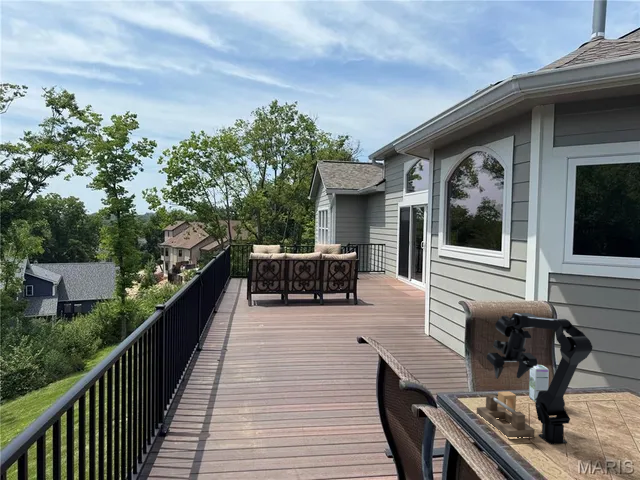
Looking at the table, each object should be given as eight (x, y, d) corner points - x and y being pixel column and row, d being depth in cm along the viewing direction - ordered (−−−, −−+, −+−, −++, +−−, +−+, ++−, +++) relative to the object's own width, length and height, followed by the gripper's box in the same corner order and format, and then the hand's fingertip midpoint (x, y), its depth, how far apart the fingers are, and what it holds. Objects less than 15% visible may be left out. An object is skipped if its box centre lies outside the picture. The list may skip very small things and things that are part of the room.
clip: (515, 414, 169) (516, 395, 169) (503, 414, 168) (504, 395, 168) (509, 409, 173) (509, 391, 173) (497, 410, 172) (498, 391, 172)
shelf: (534, 438, 149) (535, 415, 149) (508, 439, 147) (509, 416, 147) (499, 413, 169) (500, 393, 168) (476, 415, 167) (477, 394, 167)
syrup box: (548, 403, 181) (549, 368, 181) (534, 402, 181) (535, 368, 181) (541, 397, 187) (543, 364, 187) (528, 397, 187) (529, 364, 187)
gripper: (524, 332, 176) (516, 366, 180) (483, 332, 172) (475, 366, 177) (542, 347, 165) (533, 382, 170) (499, 347, 162) (490, 383, 166)
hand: (507, 378), depth 171 cm, fingers open, 9 cm apart
